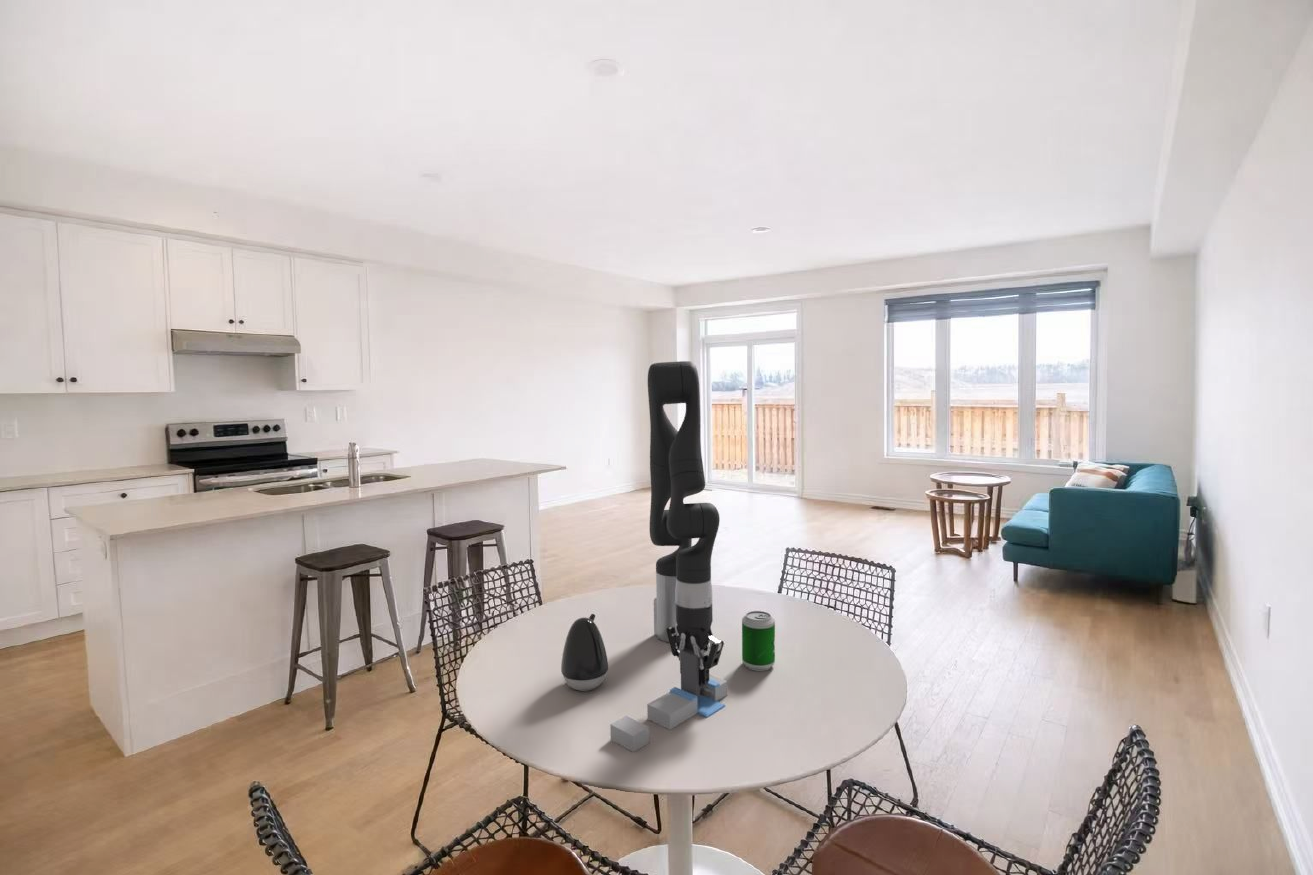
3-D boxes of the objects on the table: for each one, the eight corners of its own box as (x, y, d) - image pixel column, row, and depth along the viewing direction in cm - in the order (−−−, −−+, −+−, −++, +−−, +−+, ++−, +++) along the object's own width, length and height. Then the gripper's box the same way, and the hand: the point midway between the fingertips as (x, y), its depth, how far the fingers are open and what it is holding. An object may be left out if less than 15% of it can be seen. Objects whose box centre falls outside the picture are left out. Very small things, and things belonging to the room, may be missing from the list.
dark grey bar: (681, 692, 134) (680, 650, 133) (693, 685, 137) (693, 644, 136) (705, 703, 129) (705, 659, 128) (717, 695, 132) (717, 653, 131)
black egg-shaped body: (616, 677, 146) (614, 612, 144) (596, 699, 136) (595, 629, 134) (575, 671, 149) (573, 607, 148) (553, 692, 139) (551, 624, 138)
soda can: (774, 673, 146) (774, 622, 145) (741, 671, 148) (740, 620, 147) (775, 659, 154) (775, 610, 153) (743, 657, 155) (743, 608, 154)
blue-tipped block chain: (601, 734, 123) (601, 716, 122) (696, 682, 143) (696, 666, 143) (643, 757, 115) (643, 738, 115) (736, 698, 135) (736, 682, 135)
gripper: (655, 597, 134) (657, 677, 136) (709, 613, 124) (710, 699, 126) (679, 588, 140) (680, 665, 141) (733, 603, 130) (733, 685, 131)
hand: (694, 680), depth 133 cm, fingers closed on dark grey bar, 4 cm apart
